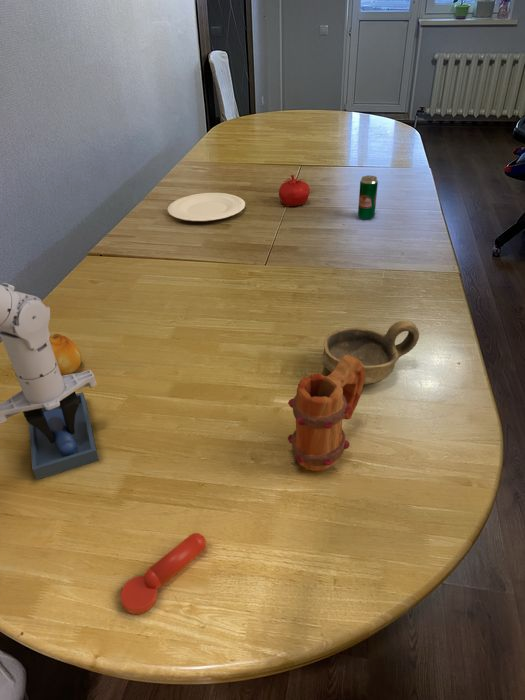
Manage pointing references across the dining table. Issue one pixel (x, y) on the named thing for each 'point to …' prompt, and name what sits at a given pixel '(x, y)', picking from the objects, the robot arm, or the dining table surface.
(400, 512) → the dining table surface
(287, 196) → the pomegranate
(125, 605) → the red spoon
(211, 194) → the plate
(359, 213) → the soda can
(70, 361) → the fruit
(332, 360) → the bowl
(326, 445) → the mug
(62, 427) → the blue spoon
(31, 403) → the robot arm
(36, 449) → the tray
